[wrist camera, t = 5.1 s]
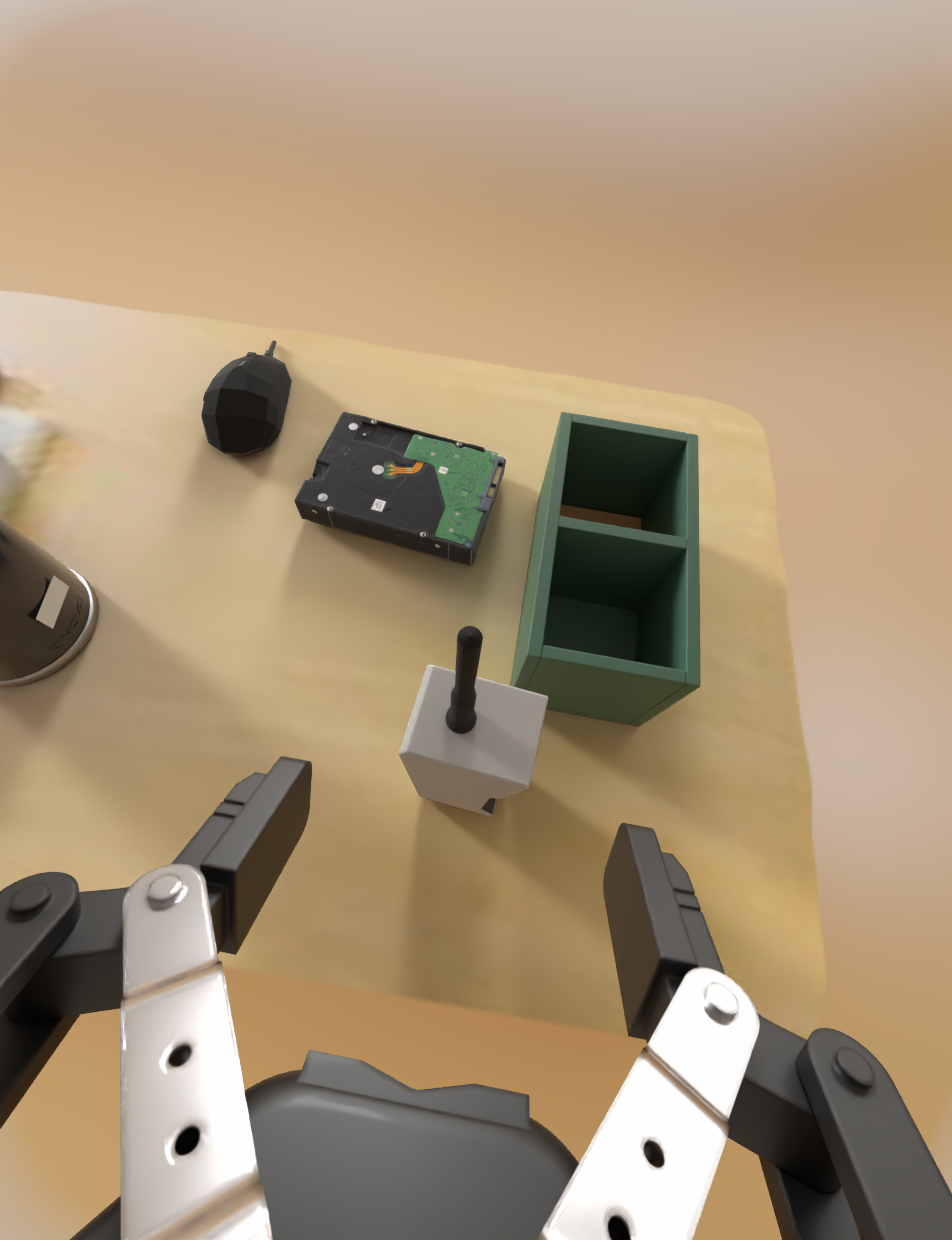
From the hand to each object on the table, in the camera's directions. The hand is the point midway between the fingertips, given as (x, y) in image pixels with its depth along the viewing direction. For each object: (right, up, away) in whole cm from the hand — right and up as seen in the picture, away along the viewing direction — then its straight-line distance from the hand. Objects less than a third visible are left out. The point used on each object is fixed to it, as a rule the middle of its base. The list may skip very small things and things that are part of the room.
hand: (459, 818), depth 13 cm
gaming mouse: (-20, +26, +35) cm, 48 cm away
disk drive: (-6, +16, +31) cm, 35 cm away
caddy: (+9, +6, +28) cm, 30 cm away
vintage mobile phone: (0, -6, +22) cm, 23 cm away
